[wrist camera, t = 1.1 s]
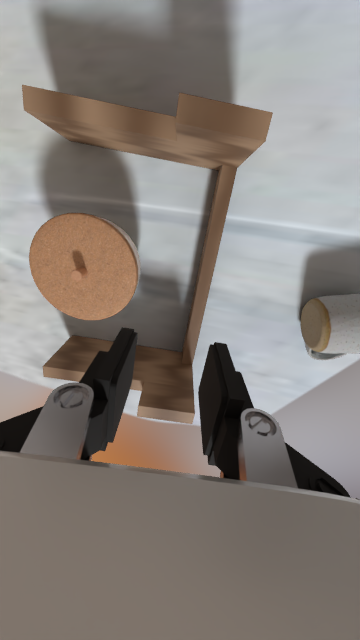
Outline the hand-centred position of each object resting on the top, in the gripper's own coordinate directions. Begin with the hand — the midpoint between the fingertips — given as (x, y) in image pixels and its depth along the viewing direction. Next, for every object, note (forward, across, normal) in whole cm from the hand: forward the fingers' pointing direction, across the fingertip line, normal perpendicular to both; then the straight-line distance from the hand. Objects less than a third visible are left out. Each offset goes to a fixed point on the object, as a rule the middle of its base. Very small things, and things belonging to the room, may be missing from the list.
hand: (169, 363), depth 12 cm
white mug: (+22, -22, +3) cm, 31 cm away
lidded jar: (+21, +10, 0) cm, 23 cm away
